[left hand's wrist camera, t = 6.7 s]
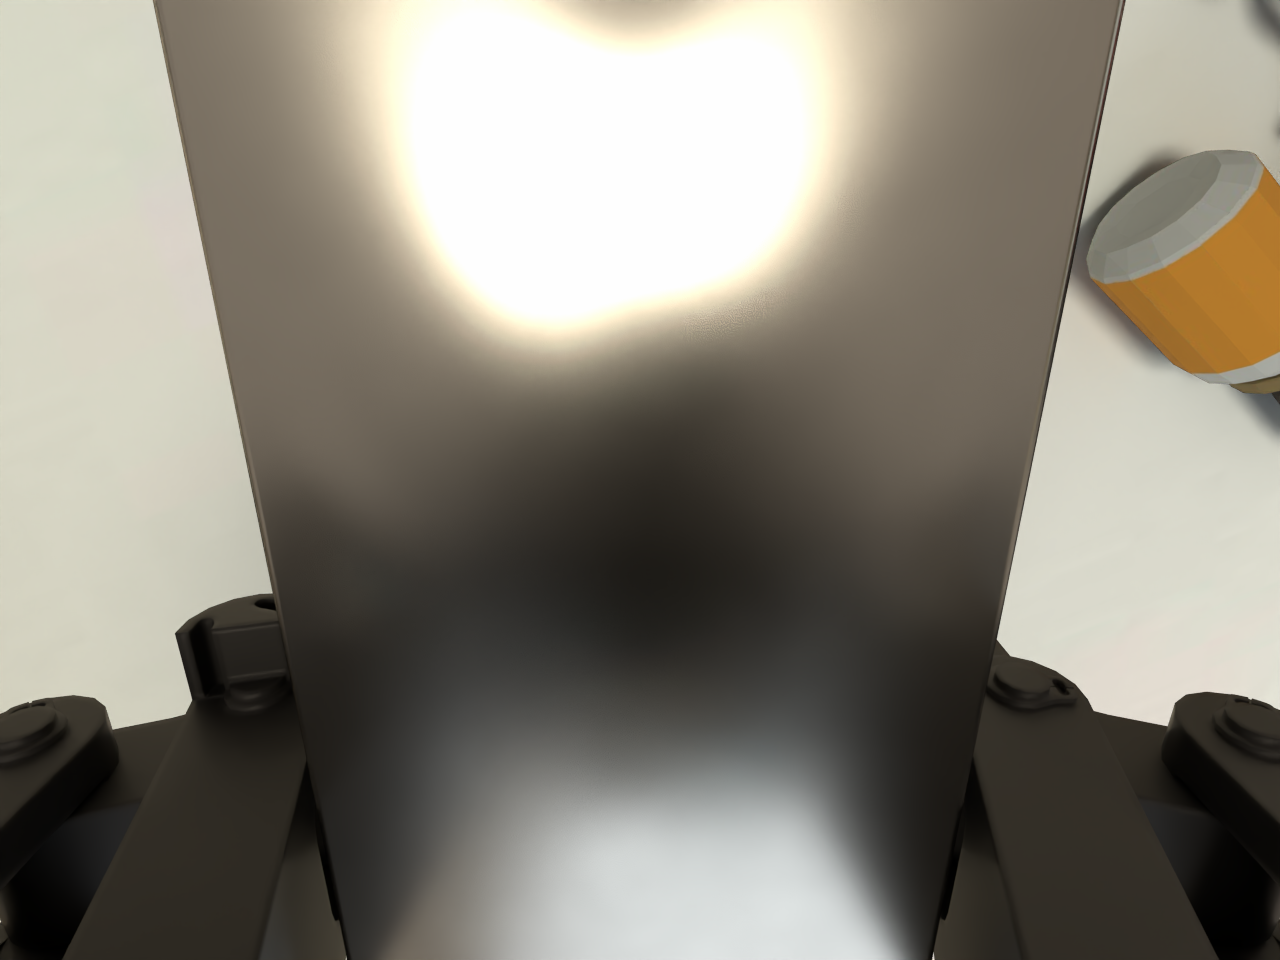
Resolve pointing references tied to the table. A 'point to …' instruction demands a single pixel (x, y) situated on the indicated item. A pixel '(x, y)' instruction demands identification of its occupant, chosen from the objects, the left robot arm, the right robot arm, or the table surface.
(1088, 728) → the left robot arm
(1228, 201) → the spray gun
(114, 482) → the table surface
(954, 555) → the bar
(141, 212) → the table surface
